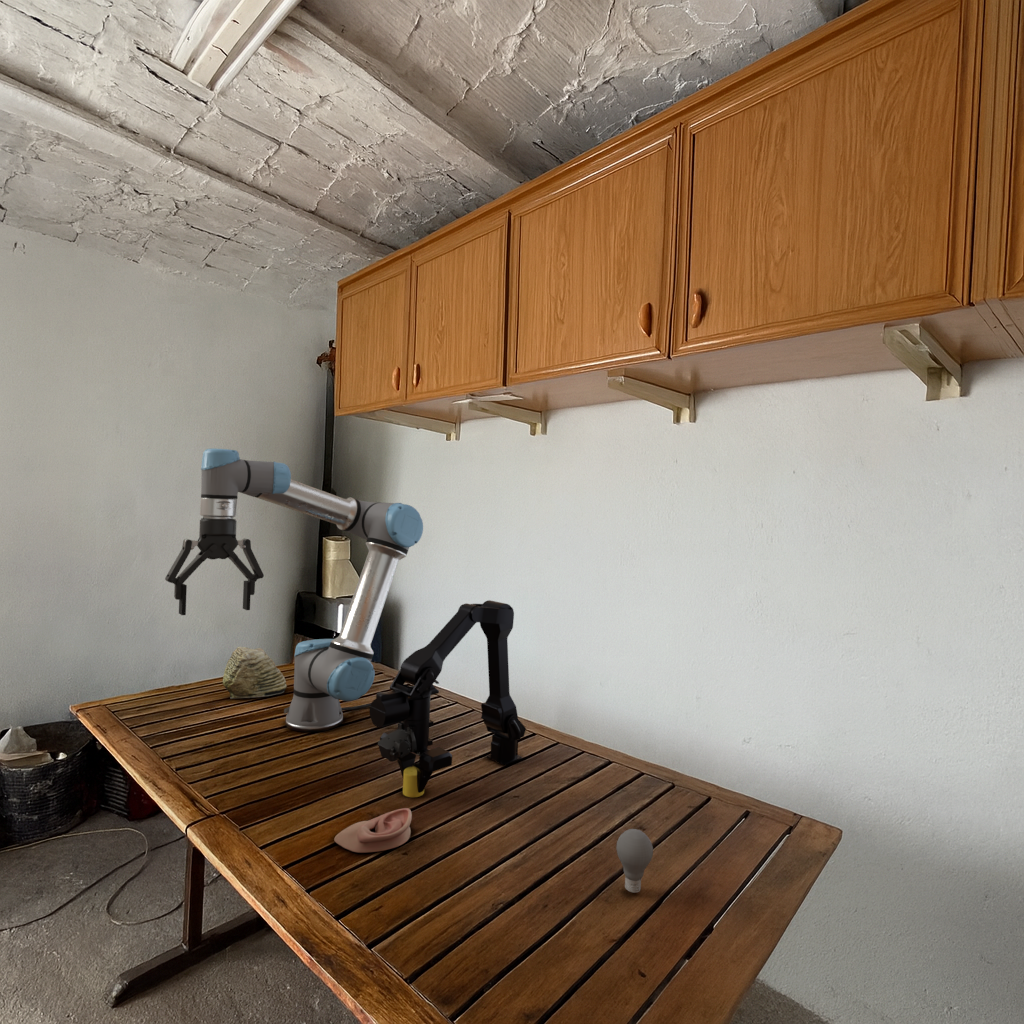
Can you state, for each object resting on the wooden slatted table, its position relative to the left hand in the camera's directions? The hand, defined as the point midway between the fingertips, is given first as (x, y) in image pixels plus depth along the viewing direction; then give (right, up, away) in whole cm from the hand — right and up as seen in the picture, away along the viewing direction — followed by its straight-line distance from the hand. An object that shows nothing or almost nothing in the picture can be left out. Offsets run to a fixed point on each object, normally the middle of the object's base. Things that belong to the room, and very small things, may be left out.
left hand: (215, 611), depth 143 cm
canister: (+46, -38, -5) cm, 60 cm away
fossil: (-14, -35, +55) cm, 67 cm away
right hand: (+46, -37, -5) cm, 59 cm away
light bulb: (+87, -41, -37) cm, 103 cm away
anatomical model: (+41, -39, -24) cm, 61 cm away
